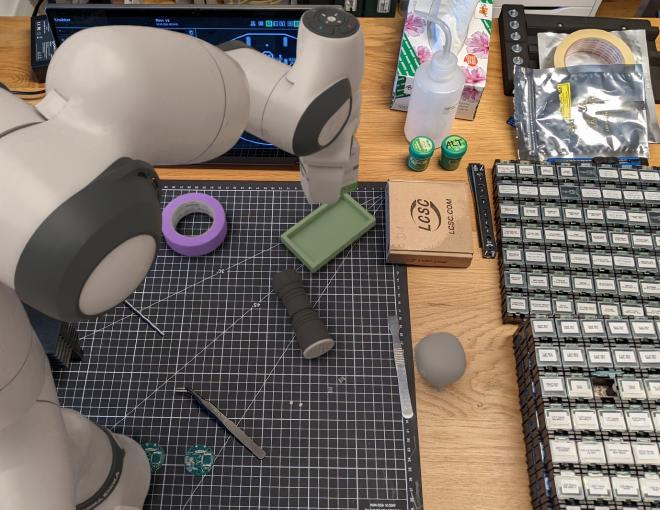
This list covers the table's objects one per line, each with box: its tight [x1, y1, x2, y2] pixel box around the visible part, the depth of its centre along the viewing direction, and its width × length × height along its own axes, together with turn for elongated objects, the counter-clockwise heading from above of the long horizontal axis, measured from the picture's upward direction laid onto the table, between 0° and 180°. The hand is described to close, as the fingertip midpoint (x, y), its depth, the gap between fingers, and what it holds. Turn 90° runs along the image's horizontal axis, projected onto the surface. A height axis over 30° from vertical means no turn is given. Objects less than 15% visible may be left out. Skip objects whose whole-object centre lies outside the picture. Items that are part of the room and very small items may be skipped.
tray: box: [280, 193, 377, 274], centre depth 115 cm, size 16×9×2 cm, turn 132°
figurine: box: [413, 331, 467, 394], centre depth 97 cm, size 8×8×12 cm
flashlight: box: [271, 268, 335, 360], centre depth 105 cm, size 15×5×5 cm, turn 25°
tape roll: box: [161, 192, 228, 257], centre depth 114 cm, size 12×12×4 cm
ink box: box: [298, 136, 361, 205], centre depth 98 cm, size 9×5×12 cm, turn 111°
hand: (328, 170), depth 99 cm, fingers closed on ink box, 6 cm apart
